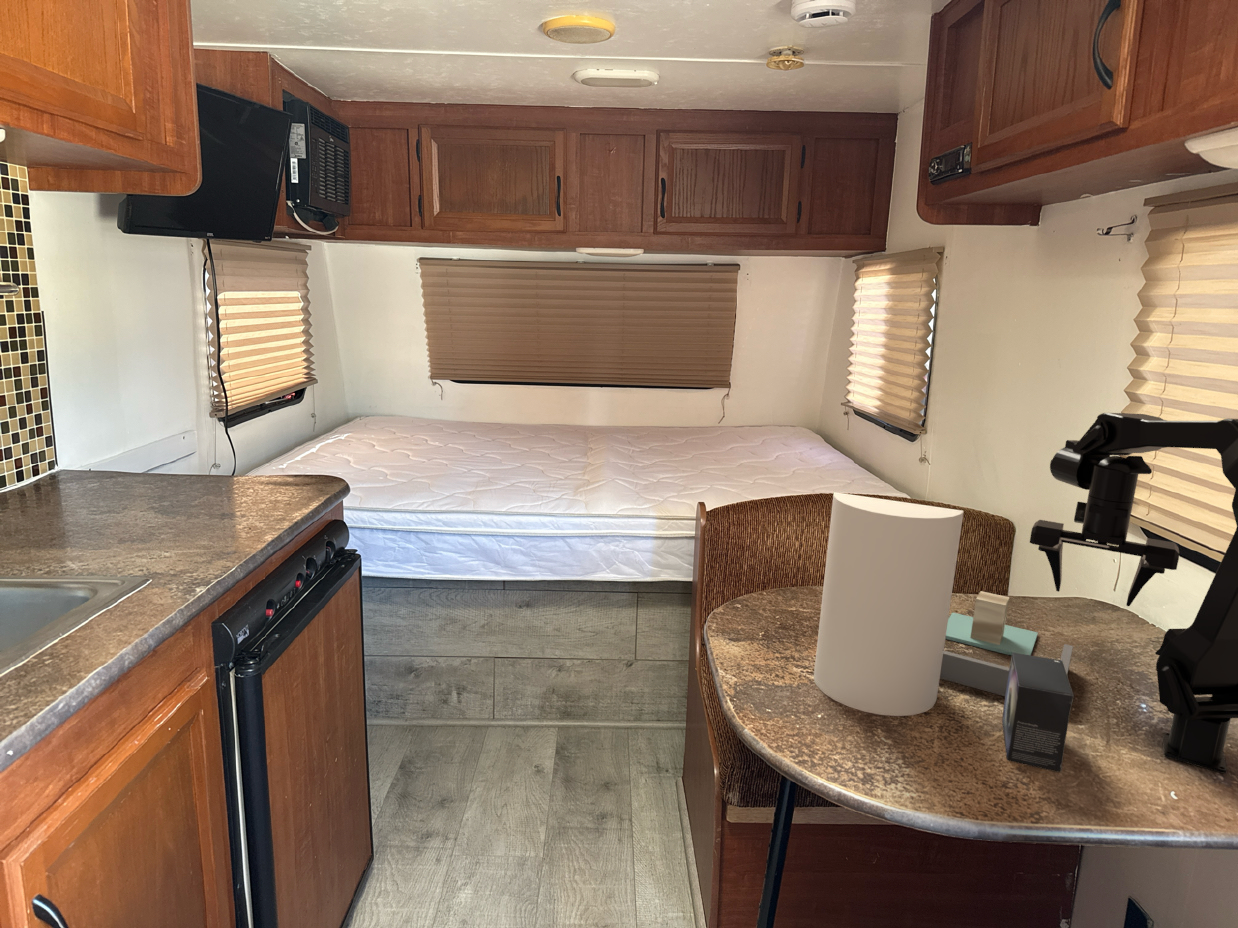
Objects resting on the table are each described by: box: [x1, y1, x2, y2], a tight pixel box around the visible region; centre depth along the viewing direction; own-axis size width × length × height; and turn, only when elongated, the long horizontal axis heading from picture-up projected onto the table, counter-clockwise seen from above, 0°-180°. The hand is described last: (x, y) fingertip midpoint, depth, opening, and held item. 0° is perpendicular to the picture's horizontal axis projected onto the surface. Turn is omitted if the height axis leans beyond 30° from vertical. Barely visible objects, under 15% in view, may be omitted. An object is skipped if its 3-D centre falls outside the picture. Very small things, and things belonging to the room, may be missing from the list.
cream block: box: [970, 590, 1010, 645], centre depth 135 cm, size 4×4×7 cm
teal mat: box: [945, 611, 1039, 657], centre depth 138 cm, size 12×14×1 cm
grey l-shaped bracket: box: [940, 643, 1074, 697], centre depth 126 cm, size 16×25×4 cm, turn 57°
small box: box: [1001, 653, 1075, 773], centre depth 103 cm, size 11×6×10 cm, turn 159°
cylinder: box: [813, 491, 964, 717], centre depth 115 cm, size 17×17×28 cm
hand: (1092, 597), depth 121 cm, fingers open, 9 cm apart
